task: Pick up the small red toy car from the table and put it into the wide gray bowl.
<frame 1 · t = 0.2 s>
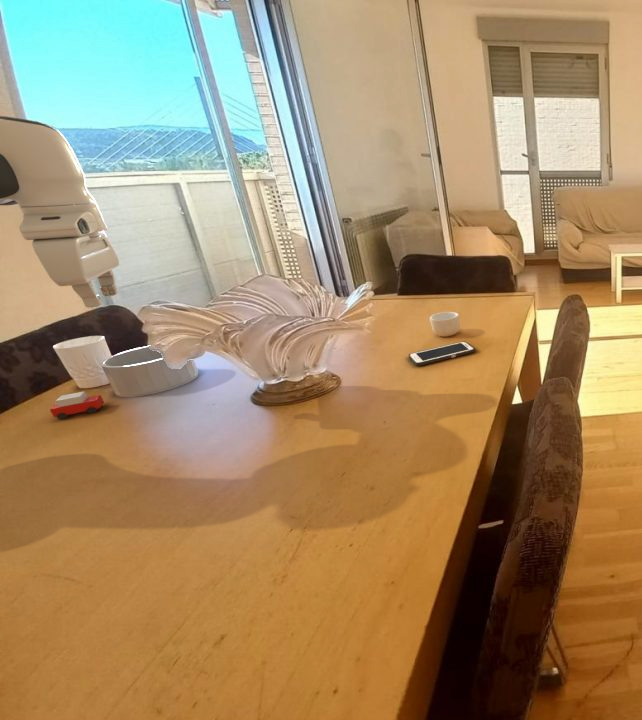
hand: (103, 300, 87), 23 cm above the table, tool pointing down, fingers open, 8 cm apart
cell phone: (442, 355, 119), on the table
gray bowl: (158, 382, 108), on the table
white cup: (99, 383, 109), on the table
toy car: (81, 412, 95), on the table
teacup: (446, 333, 134), on the table
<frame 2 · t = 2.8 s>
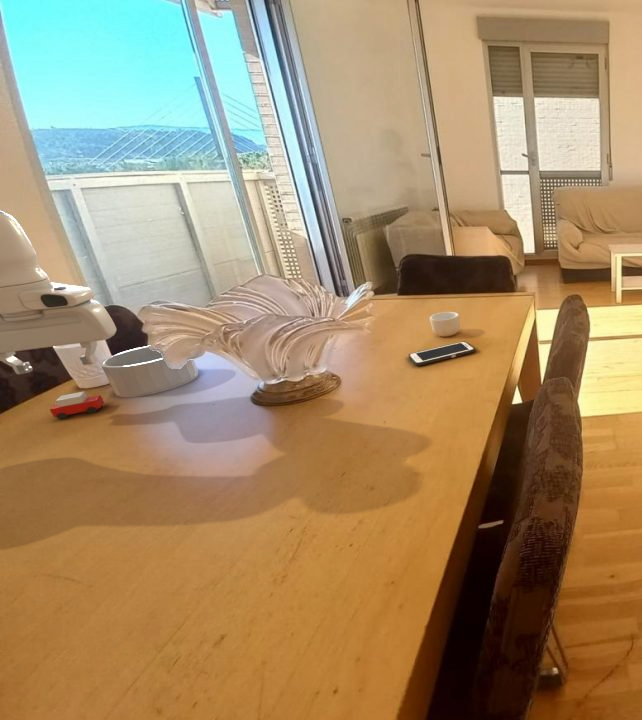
hand: (58, 368, 91), 10 cm above the table, tool pointing down, fingers open, 8 cm apart
nothing on the table moved.
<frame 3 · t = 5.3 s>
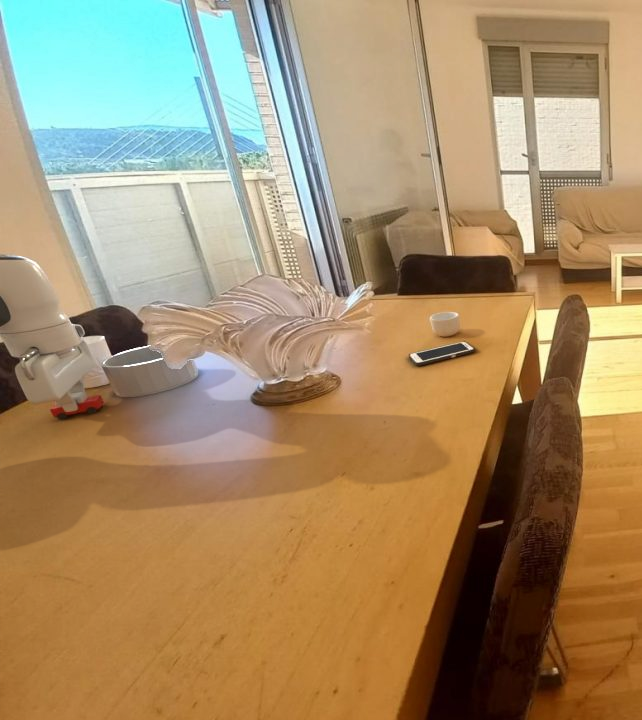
hand: (77, 405, 94), 2 cm above the table, tool pointing down, fingers closed on toy car, 3 cm apart
toy car: (81, 412, 95), on the table, touching gripper
everything else where it was.
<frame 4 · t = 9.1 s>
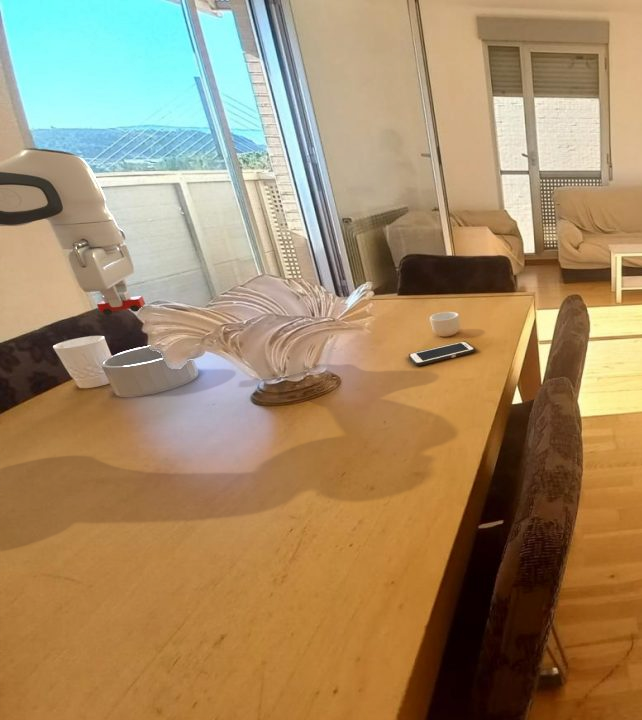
hand: (121, 303, 100), 19 cm above the table, tool pointing down, fingers closed on toy car, 3 cm apart
toy car: (125, 311, 101), point 17 cm above the table, touching gripper
everything else where it was.
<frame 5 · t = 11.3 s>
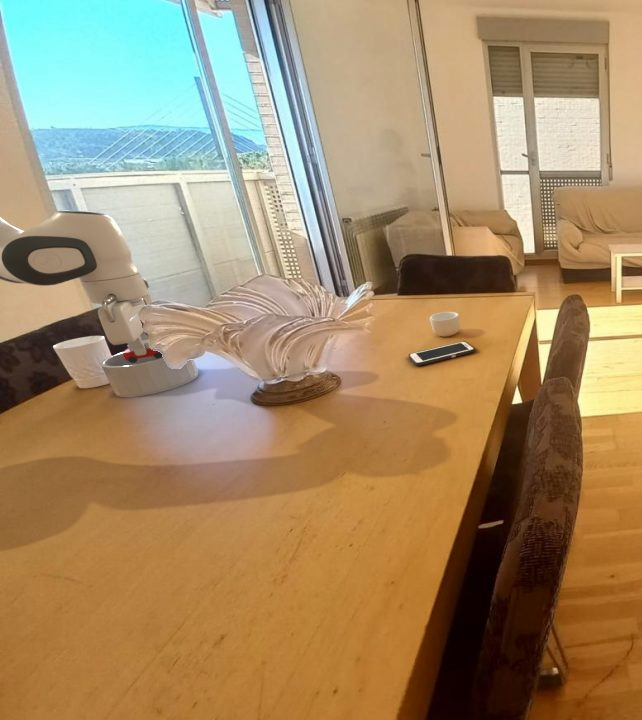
hand: (145, 351, 105), 8 cm above the table, tool pointing down, fingers closed on toy car, 3 cm apart
toy car: (148, 358, 105), point 6 cm above the table, touching gripper
everything else where it was.
when the fingers open (2 cm above the table, at t = 13.7 s): toy car stays where it is, resting on gray bowl.
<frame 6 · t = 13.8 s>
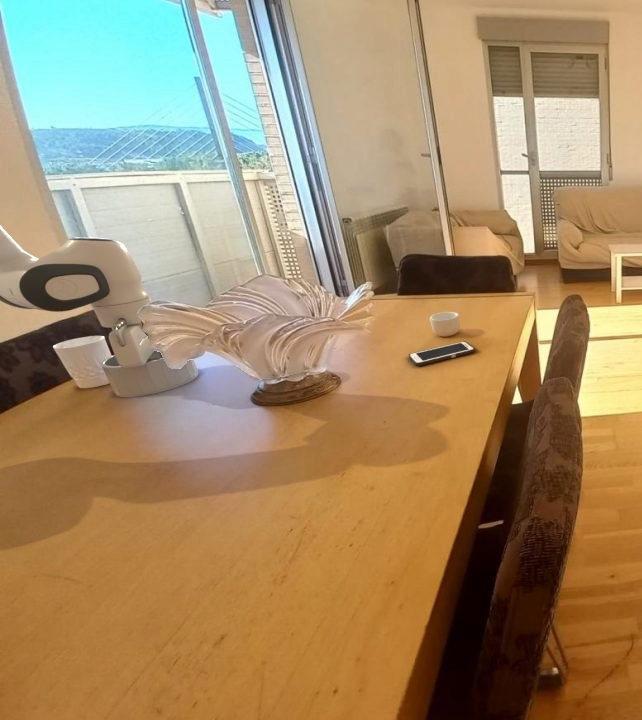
hand: (153, 372, 107), 3 cm above the table, tool pointing down, fingers open, 8 cm apart
toy car: (158, 380, 107), resting on gray bowl
everything else where it was.
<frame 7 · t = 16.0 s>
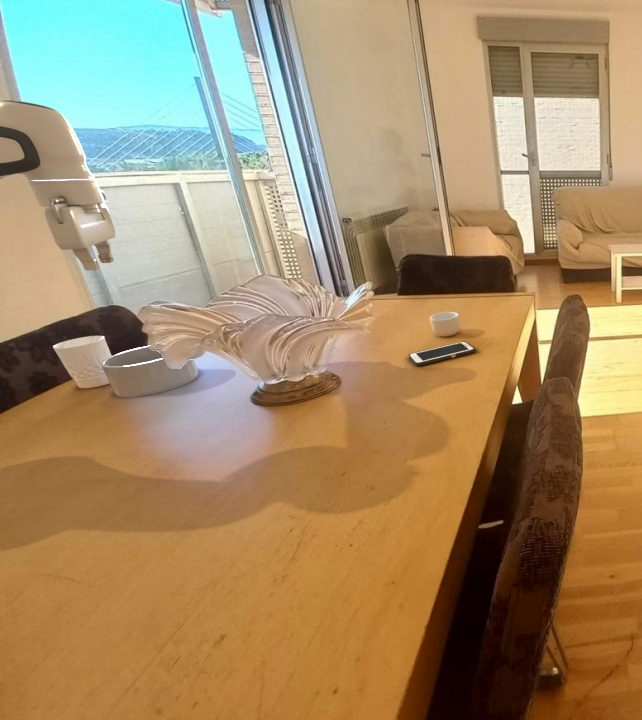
hand: (100, 266, 98), 27 cm above the table, tool pointing down, fingers open, 8 cm apart
nothing on the table moved.
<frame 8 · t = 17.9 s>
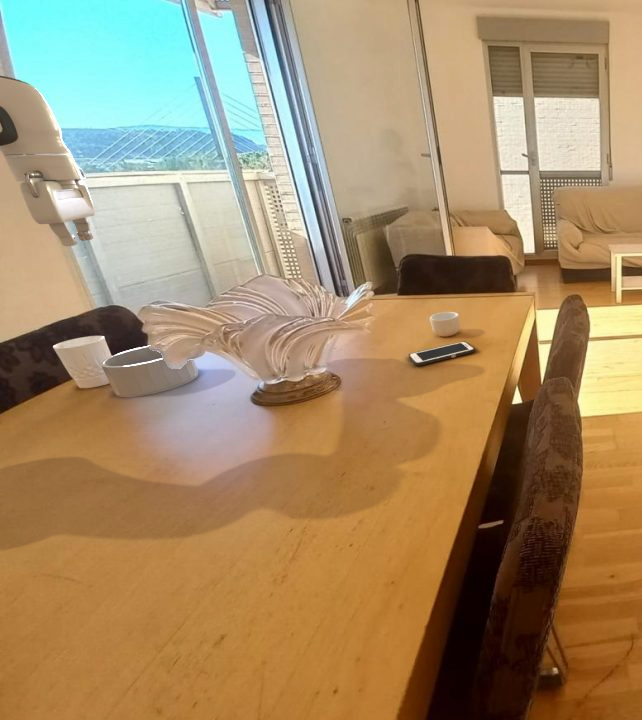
hand: (79, 242, 98), 31 cm above the table, tool pointing down, fingers open, 8 cm apart
nothing on the table moved.
at the end: toy car inside the target area in the gray bowl (0.2 cm from its centre), point 0.5 cm above the gray bowl's base; the gripper is holding nothing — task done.
